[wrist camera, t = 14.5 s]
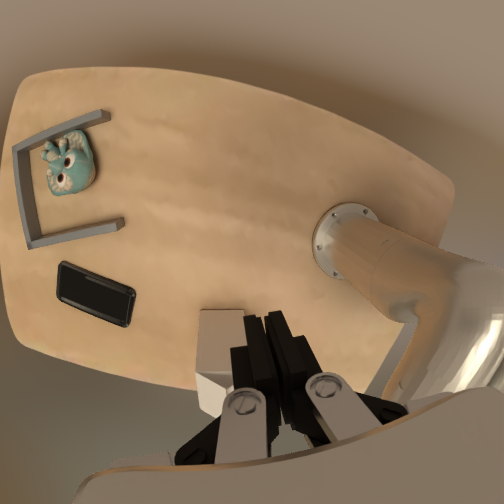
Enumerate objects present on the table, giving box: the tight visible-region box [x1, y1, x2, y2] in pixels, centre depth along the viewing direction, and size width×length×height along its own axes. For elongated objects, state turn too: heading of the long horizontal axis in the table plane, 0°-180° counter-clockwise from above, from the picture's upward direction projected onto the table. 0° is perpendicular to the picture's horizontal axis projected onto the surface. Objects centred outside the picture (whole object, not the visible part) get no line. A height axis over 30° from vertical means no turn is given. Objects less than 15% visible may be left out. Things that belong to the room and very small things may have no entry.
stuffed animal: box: [40, 130, 96, 196], centre depth 30 cm, size 11×7×12 cm
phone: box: [56, 261, 136, 328], centre depth 40 cm, size 8×1×15 cm
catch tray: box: [12, 109, 125, 250], centre depth 32 cm, size 18×17×4 cm
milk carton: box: [195, 310, 247, 418], centre depth 35 cm, size 7×7×19 cm
